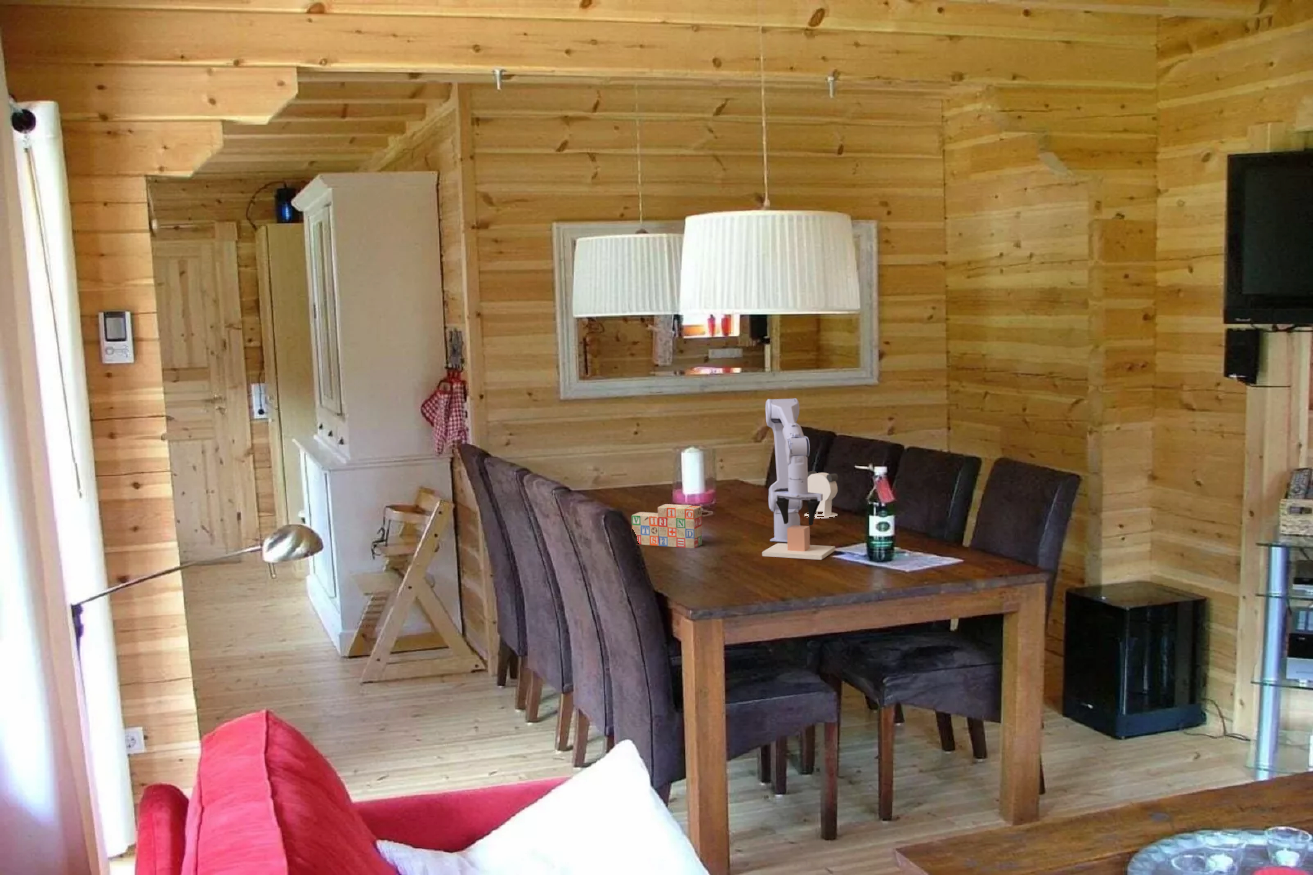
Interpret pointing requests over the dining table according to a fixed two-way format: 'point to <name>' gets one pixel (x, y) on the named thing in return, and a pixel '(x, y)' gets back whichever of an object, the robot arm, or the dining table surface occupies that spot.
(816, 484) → the beige rounded figure
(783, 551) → the post board
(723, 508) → the dining table surface
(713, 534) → the dining table surface
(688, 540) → the stack of blocks
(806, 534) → the salmon orange block
